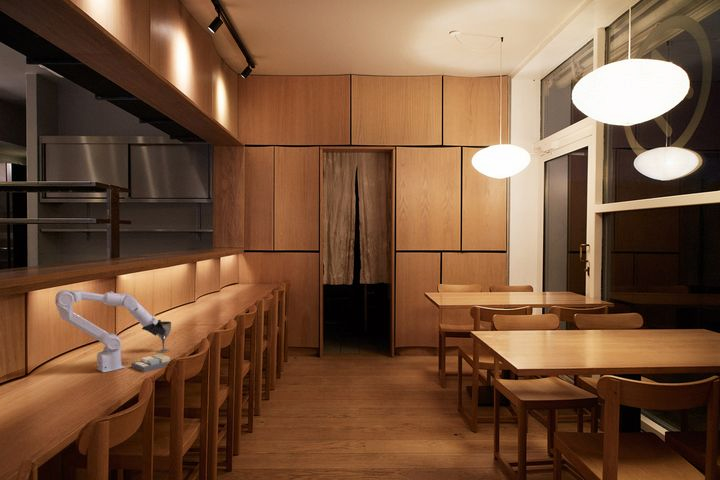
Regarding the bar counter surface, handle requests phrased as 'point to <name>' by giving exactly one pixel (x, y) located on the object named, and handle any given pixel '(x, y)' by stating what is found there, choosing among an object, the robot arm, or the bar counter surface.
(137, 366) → the keyguard
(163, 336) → the wine glass
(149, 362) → the key slate
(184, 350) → the bar counter surface
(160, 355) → the key sage
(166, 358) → the key sand
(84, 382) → the bar counter surface
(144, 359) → the key cream
